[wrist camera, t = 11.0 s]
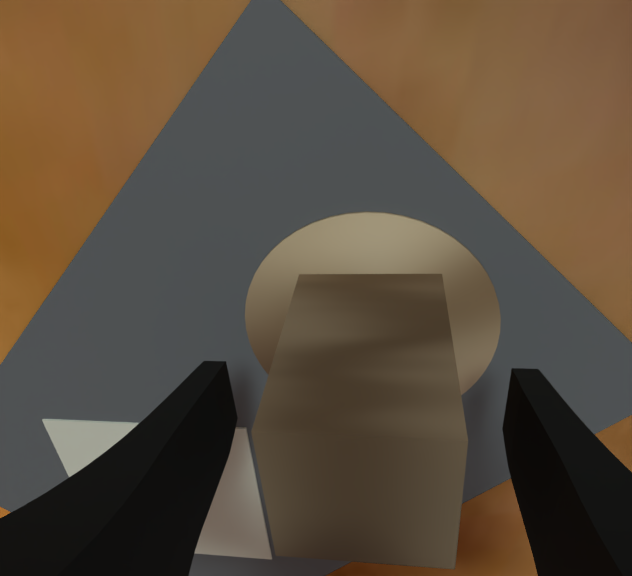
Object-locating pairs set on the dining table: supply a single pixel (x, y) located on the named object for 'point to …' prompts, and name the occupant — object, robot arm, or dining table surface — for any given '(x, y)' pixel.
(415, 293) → the walnut block
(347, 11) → the dining table surface
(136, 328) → the charcoal mat
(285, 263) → the cork coaster
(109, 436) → the card
